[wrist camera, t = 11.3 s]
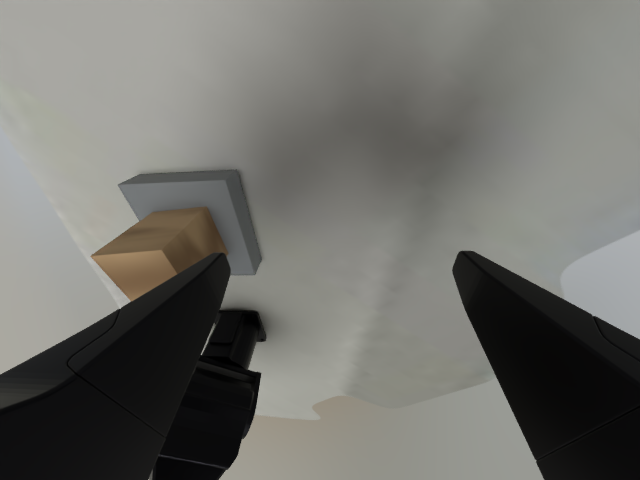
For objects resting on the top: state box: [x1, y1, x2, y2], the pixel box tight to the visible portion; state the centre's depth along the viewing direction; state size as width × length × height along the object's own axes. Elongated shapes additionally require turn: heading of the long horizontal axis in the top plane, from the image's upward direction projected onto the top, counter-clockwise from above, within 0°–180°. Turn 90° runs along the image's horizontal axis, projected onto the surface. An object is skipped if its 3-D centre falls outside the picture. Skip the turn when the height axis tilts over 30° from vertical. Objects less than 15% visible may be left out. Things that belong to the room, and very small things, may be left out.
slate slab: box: [118, 170, 262, 275], centre depth 22 cm, size 10×9×3 cm
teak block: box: [91, 206, 229, 301], centre depth 18 cm, size 5×5×6 cm
